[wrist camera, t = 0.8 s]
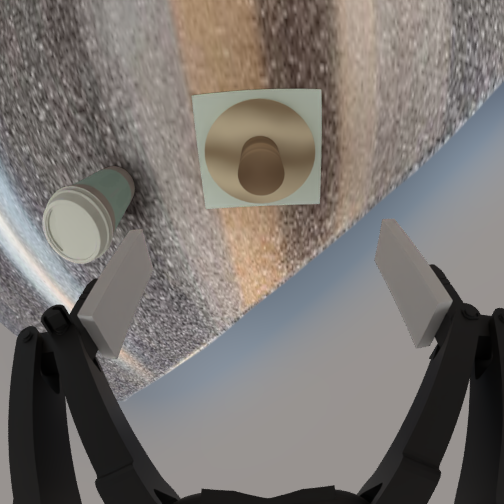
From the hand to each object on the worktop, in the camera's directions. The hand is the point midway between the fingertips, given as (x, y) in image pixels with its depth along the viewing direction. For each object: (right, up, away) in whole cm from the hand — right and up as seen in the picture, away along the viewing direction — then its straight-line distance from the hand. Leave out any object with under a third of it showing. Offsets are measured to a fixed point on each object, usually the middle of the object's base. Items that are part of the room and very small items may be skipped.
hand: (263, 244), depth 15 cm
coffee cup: (-18, +8, +19) cm, 28 cm away
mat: (0, +11, +17) cm, 20 cm away
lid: (0, +11, +16) cm, 19 cm away
